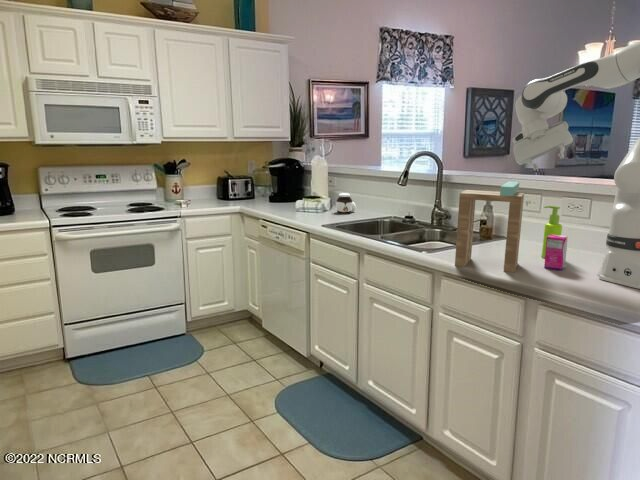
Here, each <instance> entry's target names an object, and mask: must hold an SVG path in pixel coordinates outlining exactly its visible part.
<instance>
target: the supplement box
mask: <svg viewBox="0 0 640 480" xmlns="http://www.w3.org/2000/svg"><path fill="white" fill-rule="evenodd" d="M567 247H568V235H561V236H560V235H550V236H548V237H547V240H546V252H545V259H544V267H543V268H544V269H549V270H555V271H562V270H563V269H565V268H566V262H567V261H566V260H567V249H568V248H567Z"/></svg>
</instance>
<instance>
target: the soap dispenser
mask: <svg viewBox="0 0 640 480" xmlns="http://www.w3.org/2000/svg"><path fill="white" fill-rule="evenodd" d="M543 208H544V209H552V213H551V214H550V215H549V216H548V223H547V222H546V223H545V224H544V230H543V240H542V241H543V243H542V248H541V249H542V250H541V258H542V259H544V260H545V252H546V240H547V237H548V236H550V235H560V236H562V230H563V225H562V224H560V215H559V214H558V211H559V210H560V209H561V207H560V206H556V205H548V206H543Z"/></svg>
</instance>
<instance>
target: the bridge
mask: <svg viewBox="0 0 640 480" xmlns="http://www.w3.org/2000/svg"><path fill="white" fill-rule="evenodd" d="M458 199H459V201H458V213H457V214H458V215H457V216H458V217H457V229H456V243H455V244H456V245H455V257H454V259H455V260H454V266H456V267H463V268H465V267H466V266H467V265H468V264H469V262H470V261H471V259H472V250H473V249H472V248H473V237H474V235H473V234H474V223H475V210H476V201H486V202H501V203H502V202H503V203H504V202H505V203H509V205H508V206H509V207H508V217H507V218H508V219H507V229H506V240H505V252H504V261H503V262H504V264H503V272H507V273H515V272H516V269H517V266H518V261H519V250H520V239H521V229H522V219H523V209H524V199H525V192H519V191H517V192H516V193H515V194H514V195H513V196H502V195H500V190H499V191H497V190H496V191H495V190H494V191H493V190H492V191H491V190H478V189H465V190H464V191H461V192H460V193H459V198H458Z"/></svg>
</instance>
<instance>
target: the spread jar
mask: <svg viewBox="0 0 640 480" xmlns="http://www.w3.org/2000/svg"><path fill="white" fill-rule="evenodd" d="M335 208H336V212H337V213H338V214H344V215H345V214H346V215H347V214H350V213H353V212H355V211H356V210H357V205H356V203H355V202H354V201H353V199H352V197H351V194H350V193H347V192H346V193H345V192H343V193H339V194H338V198H337V199H336V201H335Z"/></svg>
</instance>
